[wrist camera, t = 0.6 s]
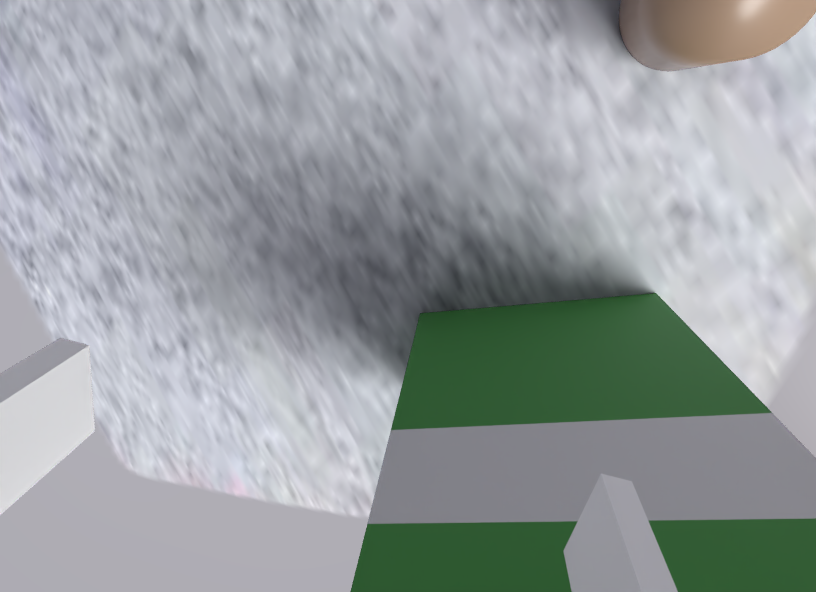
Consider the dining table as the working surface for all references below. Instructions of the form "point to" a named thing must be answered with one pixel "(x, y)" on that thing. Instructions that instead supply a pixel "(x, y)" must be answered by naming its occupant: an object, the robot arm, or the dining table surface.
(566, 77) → the dining table surface
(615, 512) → the robot arm
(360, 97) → the dining table surface
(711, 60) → the tan rounded capsule
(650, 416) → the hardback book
